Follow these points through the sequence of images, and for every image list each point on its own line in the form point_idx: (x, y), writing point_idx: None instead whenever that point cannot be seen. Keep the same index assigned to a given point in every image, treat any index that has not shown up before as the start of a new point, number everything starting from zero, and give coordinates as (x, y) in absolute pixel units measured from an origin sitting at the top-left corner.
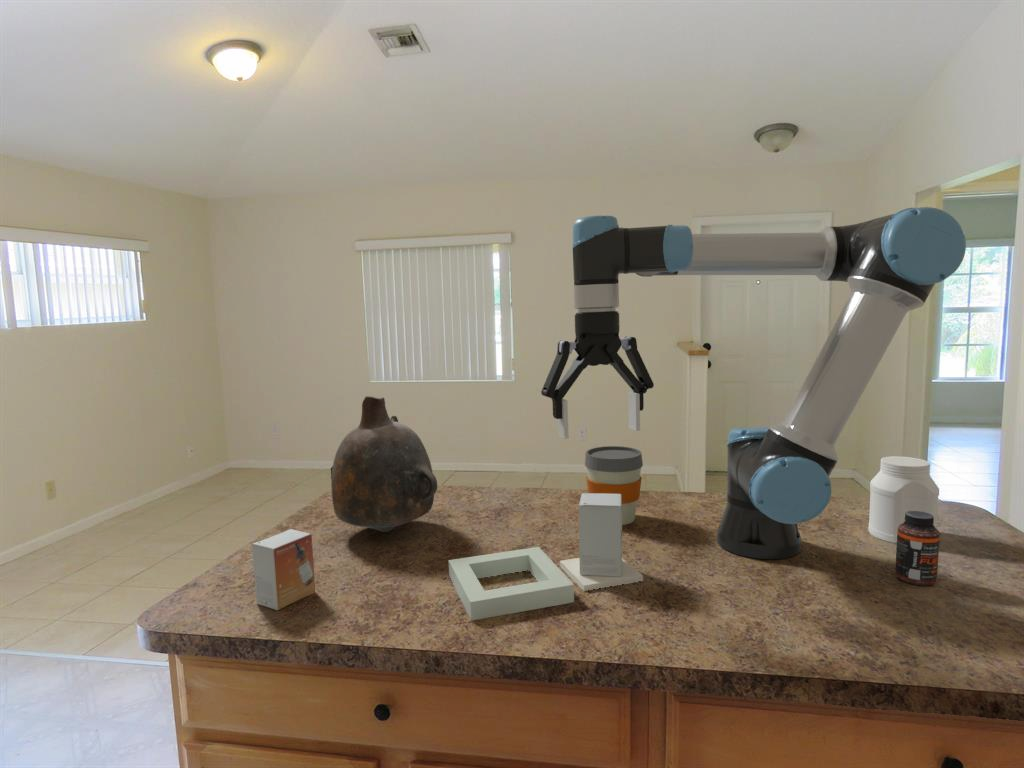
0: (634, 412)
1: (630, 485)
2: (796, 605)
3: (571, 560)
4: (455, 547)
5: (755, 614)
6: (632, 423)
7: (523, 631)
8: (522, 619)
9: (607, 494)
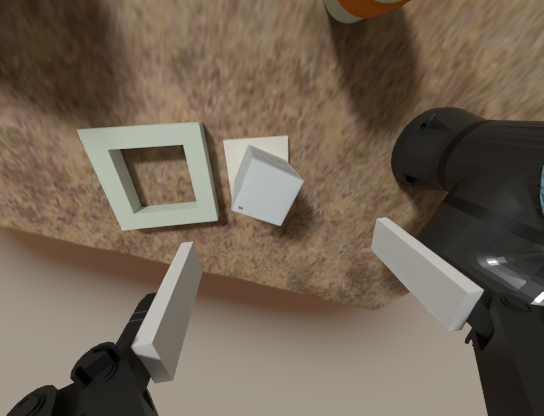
0: (401, 274)
1: (393, 7)
2: (359, 246)
3: (236, 143)
4: (77, 17)
5: (329, 251)
6: (382, 243)
7: (173, 242)
8: (174, 227)
9: (284, 179)
